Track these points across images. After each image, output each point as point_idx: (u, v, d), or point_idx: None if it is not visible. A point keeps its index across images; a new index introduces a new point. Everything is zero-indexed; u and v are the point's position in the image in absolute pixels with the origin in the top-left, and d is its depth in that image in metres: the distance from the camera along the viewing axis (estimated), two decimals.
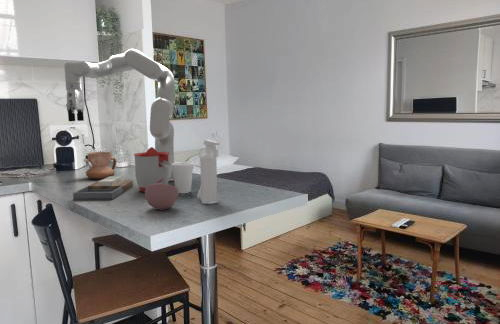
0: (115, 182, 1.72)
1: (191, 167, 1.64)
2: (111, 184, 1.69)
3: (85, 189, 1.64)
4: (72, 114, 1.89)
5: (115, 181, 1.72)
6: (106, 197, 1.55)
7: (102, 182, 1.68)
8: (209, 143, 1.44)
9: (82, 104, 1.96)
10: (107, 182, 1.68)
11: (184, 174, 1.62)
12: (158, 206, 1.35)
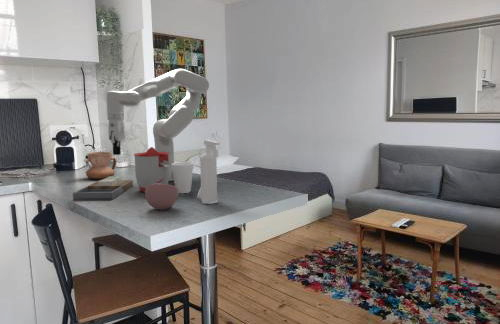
0: (115, 182, 1.72)
1: (191, 167, 1.64)
2: (111, 184, 1.69)
3: (85, 189, 1.64)
4: (117, 147, 1.83)
5: (115, 181, 1.72)
6: (106, 197, 1.55)
7: (102, 182, 1.68)
8: (209, 143, 1.44)
9: (123, 134, 1.85)
10: (107, 182, 1.68)
11: (184, 174, 1.62)
12: (158, 206, 1.35)
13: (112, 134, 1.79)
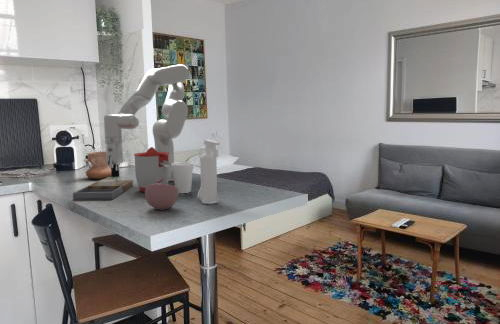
0: (115, 182, 1.72)
1: (191, 167, 1.64)
2: (111, 184, 1.68)
3: (85, 189, 1.64)
4: (115, 171, 1.80)
5: (115, 181, 1.72)
6: (106, 197, 1.55)
7: (102, 182, 1.68)
8: (209, 143, 1.44)
9: (121, 157, 1.82)
10: (106, 182, 1.68)
11: (184, 174, 1.62)
12: (158, 206, 1.35)
13: (110, 158, 1.76)
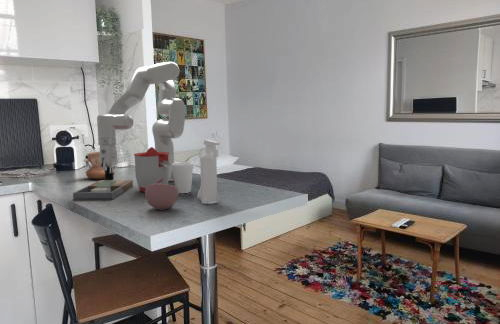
0: (109, 191, 1.65)
1: (191, 167, 1.64)
2: None
3: (85, 189, 1.64)
4: (109, 174, 1.72)
5: (109, 189, 1.65)
6: (106, 197, 1.55)
7: (95, 191, 1.61)
8: (209, 143, 1.44)
9: (116, 160, 1.74)
10: (100, 190, 1.61)
11: (184, 174, 1.62)
12: (158, 206, 1.35)
13: (104, 161, 1.68)
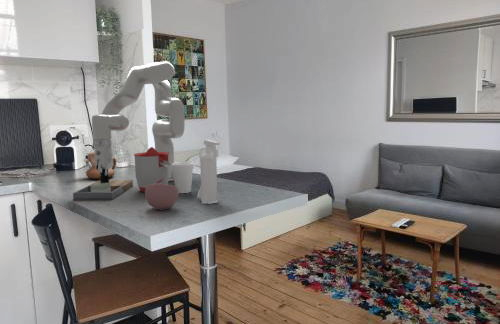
0: (108, 191, 1.65)
1: (191, 167, 1.64)
2: None
3: (85, 189, 1.64)
4: (105, 176, 1.66)
5: (108, 189, 1.65)
6: (106, 197, 1.55)
7: (94, 191, 1.61)
8: (209, 143, 1.44)
9: (111, 161, 1.69)
10: (100, 190, 1.61)
11: (184, 174, 1.62)
12: (158, 206, 1.35)
13: (99, 163, 1.62)
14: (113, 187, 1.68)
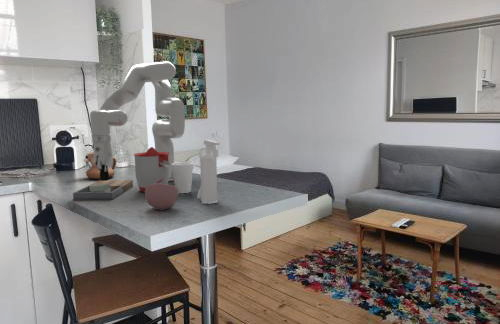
0: (108, 191, 1.65)
1: (191, 167, 1.64)
2: None
3: (85, 189, 1.64)
4: (104, 173, 1.65)
5: (108, 190, 1.65)
6: (106, 197, 1.55)
7: (94, 191, 1.61)
8: (209, 143, 1.44)
9: (111, 157, 1.67)
10: None
11: (183, 174, 1.62)
12: (158, 206, 1.35)
13: (98, 159, 1.61)
14: (113, 187, 1.68)
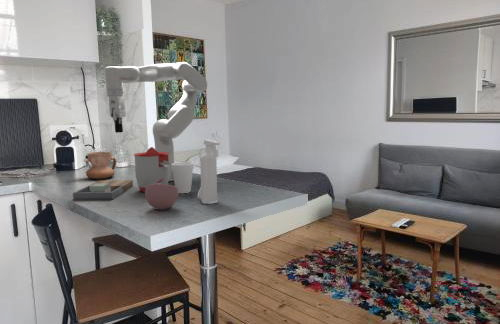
0: (108, 191, 1.65)
1: (191, 167, 1.64)
2: None
3: (85, 189, 1.64)
4: (119, 125, 1.79)
5: (108, 190, 1.65)
6: (106, 197, 1.55)
7: (94, 191, 1.61)
8: (209, 143, 1.44)
9: (124, 111, 1.81)
10: None
11: (184, 174, 1.62)
12: (158, 206, 1.35)
13: (113, 111, 1.75)
14: (113, 187, 1.68)
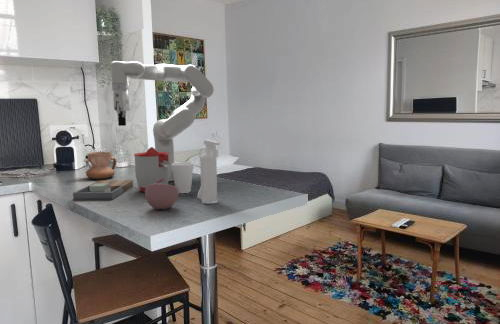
0: (108, 191, 1.65)
1: (191, 167, 1.64)
2: None
3: (85, 189, 1.64)
4: (122, 118, 1.84)
5: (108, 190, 1.65)
6: (106, 197, 1.55)
7: (94, 191, 1.61)
8: (209, 143, 1.44)
9: (128, 105, 1.86)
10: None
11: (184, 174, 1.62)
12: (158, 206, 1.35)
13: (117, 104, 1.79)
14: (113, 187, 1.68)
